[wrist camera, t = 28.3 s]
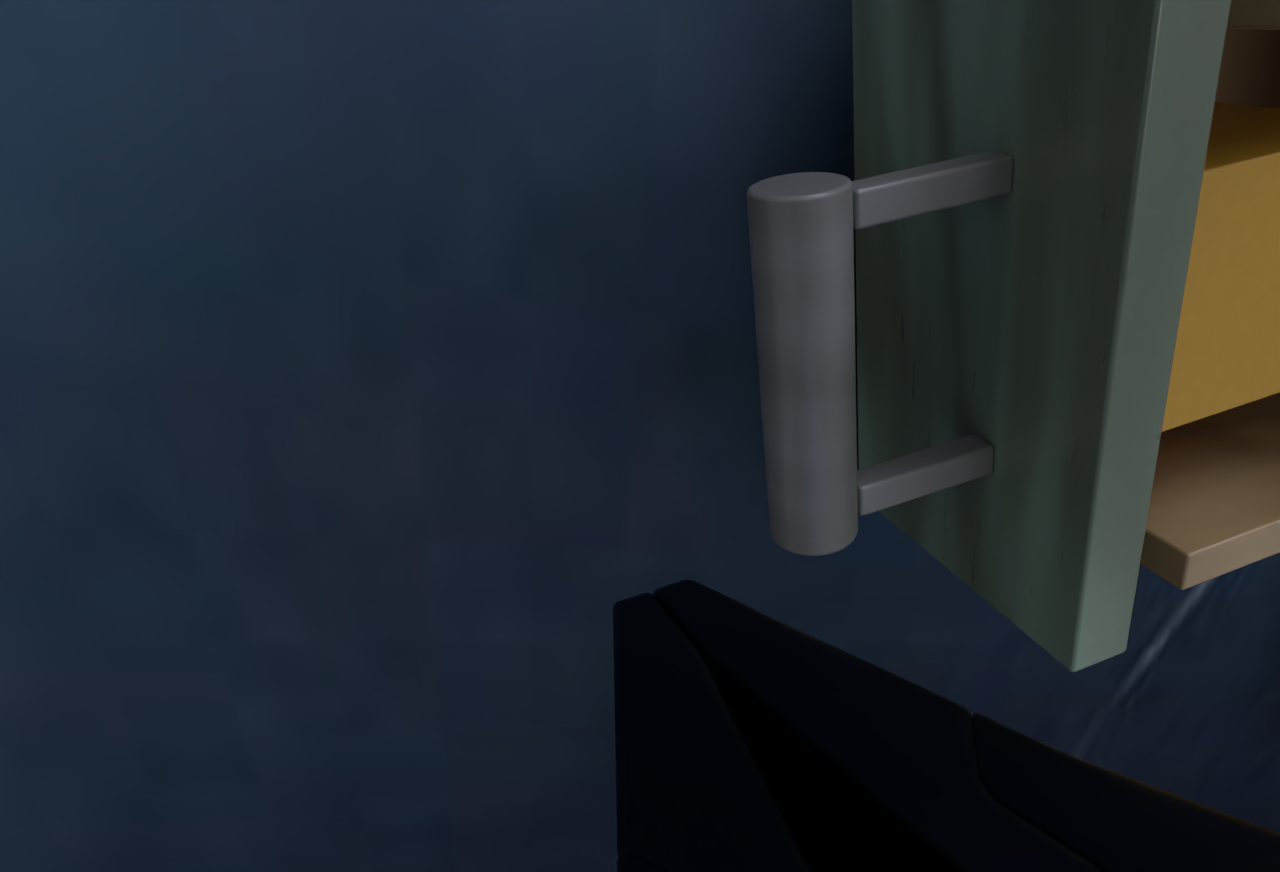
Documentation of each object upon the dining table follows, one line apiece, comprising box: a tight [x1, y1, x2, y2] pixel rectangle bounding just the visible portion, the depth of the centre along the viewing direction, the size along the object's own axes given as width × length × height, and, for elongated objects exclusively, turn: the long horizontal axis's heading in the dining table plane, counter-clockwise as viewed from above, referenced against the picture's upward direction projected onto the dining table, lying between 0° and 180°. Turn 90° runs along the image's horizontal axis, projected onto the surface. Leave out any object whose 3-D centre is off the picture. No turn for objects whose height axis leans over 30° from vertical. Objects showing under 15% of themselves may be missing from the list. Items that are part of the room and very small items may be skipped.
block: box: [1162, 102, 1280, 432], centre depth 17 cm, size 4×4×4 cm
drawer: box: [746, 0, 1280, 672], centre depth 17 cm, size 18×11×7 cm, turn 98°
